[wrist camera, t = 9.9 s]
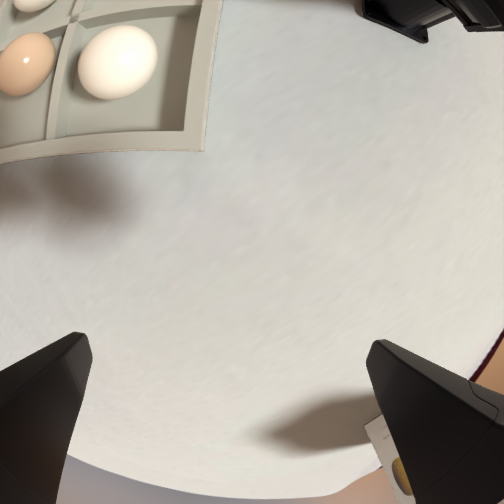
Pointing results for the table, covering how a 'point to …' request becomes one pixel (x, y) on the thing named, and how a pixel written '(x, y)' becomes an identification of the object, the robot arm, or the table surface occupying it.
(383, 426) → the supplement box
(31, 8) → the egg
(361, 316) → the table surface
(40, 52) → the brown egg
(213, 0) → the carton
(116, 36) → the egg
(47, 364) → the robot arm
